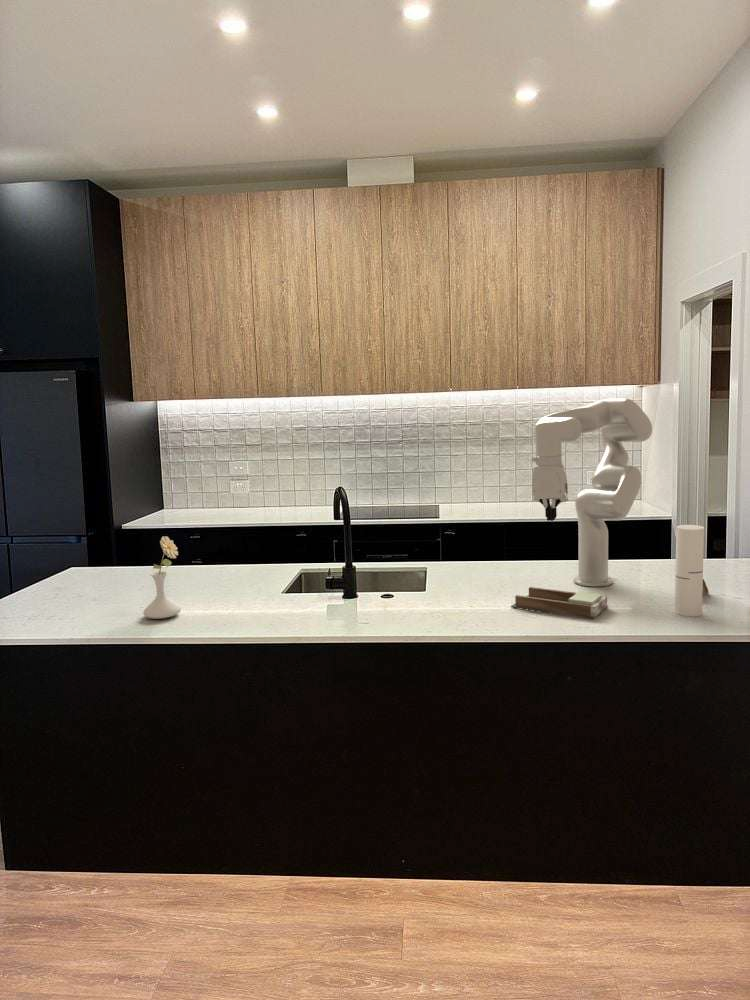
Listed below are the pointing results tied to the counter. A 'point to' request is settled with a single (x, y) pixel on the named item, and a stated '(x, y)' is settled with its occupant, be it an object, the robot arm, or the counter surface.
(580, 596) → the sage block
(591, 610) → the brown wooden tray
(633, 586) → the counter surface
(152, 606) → the flower in vase
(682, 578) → the cylindrical container
